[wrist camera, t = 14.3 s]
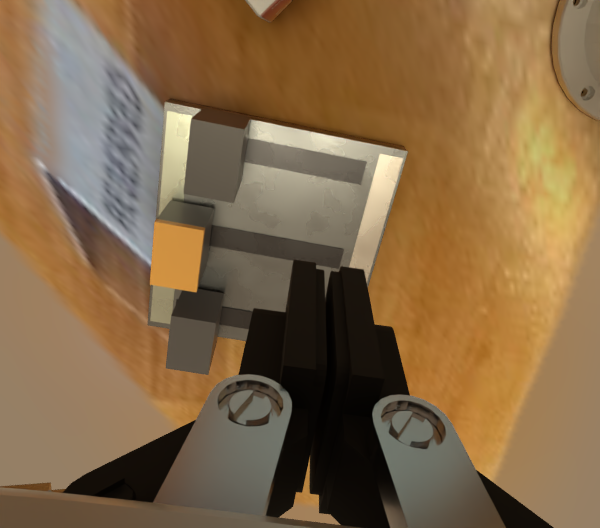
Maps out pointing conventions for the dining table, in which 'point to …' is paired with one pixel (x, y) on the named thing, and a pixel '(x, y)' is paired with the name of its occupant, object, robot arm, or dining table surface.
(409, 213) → the dining table surface
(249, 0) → the small box
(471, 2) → the dining table surface
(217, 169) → the breaker
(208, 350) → the block
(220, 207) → the panel
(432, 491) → the robot arm
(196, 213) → the block
